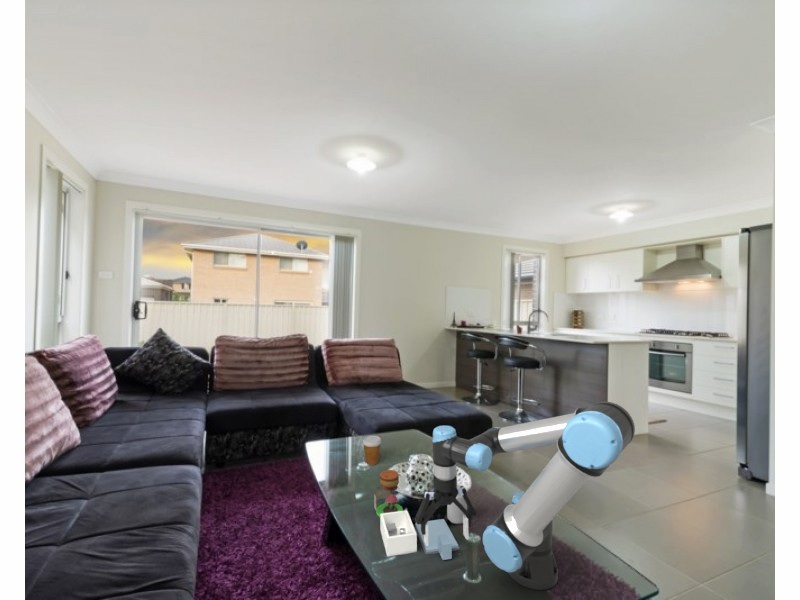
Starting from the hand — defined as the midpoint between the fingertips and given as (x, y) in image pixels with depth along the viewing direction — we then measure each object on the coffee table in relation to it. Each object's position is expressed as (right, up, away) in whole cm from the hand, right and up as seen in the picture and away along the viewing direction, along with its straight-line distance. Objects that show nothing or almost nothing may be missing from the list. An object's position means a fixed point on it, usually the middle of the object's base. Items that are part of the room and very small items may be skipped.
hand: (446, 540), depth 123 cm
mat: (-2, -5, +10) cm, 11 cm away
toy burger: (-19, -5, +26) cm, 33 cm away
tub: (-16, -5, +8) cm, 19 cm away
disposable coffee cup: (-29, -4, +68) cm, 74 cm away
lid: (-2, -5, +8) cm, 10 cm away
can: (+7, -5, +20) cm, 22 cm away
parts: (-16, -5, +8) cm, 19 cm away
